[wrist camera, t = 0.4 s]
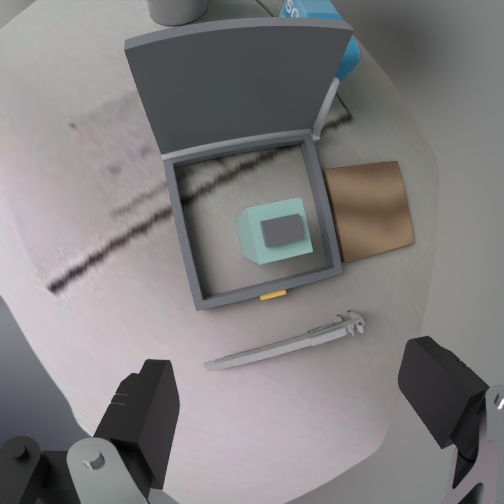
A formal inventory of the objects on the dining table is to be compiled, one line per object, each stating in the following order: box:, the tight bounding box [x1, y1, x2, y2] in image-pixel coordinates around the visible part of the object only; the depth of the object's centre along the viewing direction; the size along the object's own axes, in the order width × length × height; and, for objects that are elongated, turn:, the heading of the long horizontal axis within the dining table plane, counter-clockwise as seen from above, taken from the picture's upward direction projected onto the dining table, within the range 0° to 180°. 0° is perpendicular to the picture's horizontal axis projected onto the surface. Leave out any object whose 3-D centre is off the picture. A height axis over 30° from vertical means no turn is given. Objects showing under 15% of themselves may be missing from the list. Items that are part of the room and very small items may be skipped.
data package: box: [279, 0, 360, 84], centre depth 28 cm, size 12×4×12 cm, turn 17°
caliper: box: [204, 310, 365, 371], centre depth 33 cm, size 20×1×6 cm, turn 108°
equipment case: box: [124, 17, 354, 311], centre depth 25 cm, size 24×19×18 cm
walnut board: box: [322, 161, 414, 263], centre depth 36 cm, size 12×12×1 cm
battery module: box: [235, 197, 313, 265], centre depth 28 cm, size 4×4×13 cm
